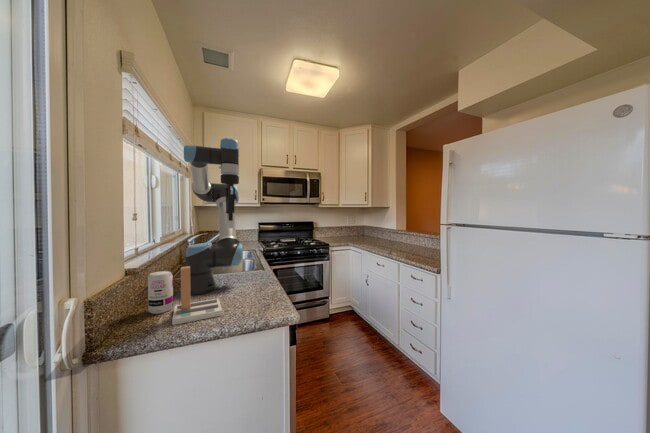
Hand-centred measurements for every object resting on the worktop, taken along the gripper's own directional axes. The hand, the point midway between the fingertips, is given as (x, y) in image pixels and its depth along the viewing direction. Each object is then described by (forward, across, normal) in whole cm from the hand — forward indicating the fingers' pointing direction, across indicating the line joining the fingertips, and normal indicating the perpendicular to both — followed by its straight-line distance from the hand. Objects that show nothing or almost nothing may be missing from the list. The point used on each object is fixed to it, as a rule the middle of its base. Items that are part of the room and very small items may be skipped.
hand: (230, 227), depth 105 cm
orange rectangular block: (+30, +8, -17) cm, 35 cm away
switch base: (+32, +8, -13) cm, 36 cm away
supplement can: (+33, -2, -26) cm, 42 cm away
